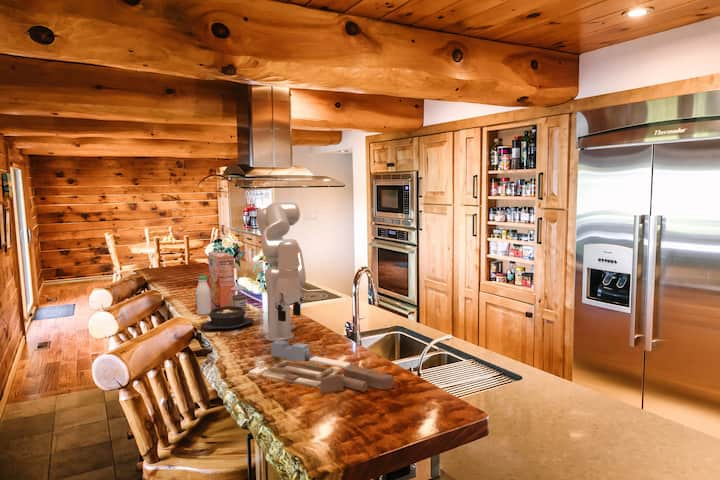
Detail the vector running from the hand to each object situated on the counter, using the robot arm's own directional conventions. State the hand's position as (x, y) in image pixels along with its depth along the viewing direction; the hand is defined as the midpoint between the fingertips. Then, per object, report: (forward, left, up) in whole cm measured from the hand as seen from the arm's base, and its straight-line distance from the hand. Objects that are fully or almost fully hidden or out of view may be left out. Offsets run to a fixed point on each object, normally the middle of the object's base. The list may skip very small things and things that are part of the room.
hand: (289, 318), depth 186 cm
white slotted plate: (+18, -1, -16) cm, 24 cm away
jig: (+13, +14, -15) cm, 24 cm away
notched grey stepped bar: (0, 0, -16) cm, 16 cm away
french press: (-43, -63, -16) cm, 78 cm away
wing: (-1, +17, -16) cm, 23 cm away
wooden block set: (+17, +37, -16) cm, 44 cm away
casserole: (-23, -52, -16) cm, 59 cm away
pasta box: (-52, -82, -16) cm, 99 cm away
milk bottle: (-37, -81, -16) cm, 91 cm away
